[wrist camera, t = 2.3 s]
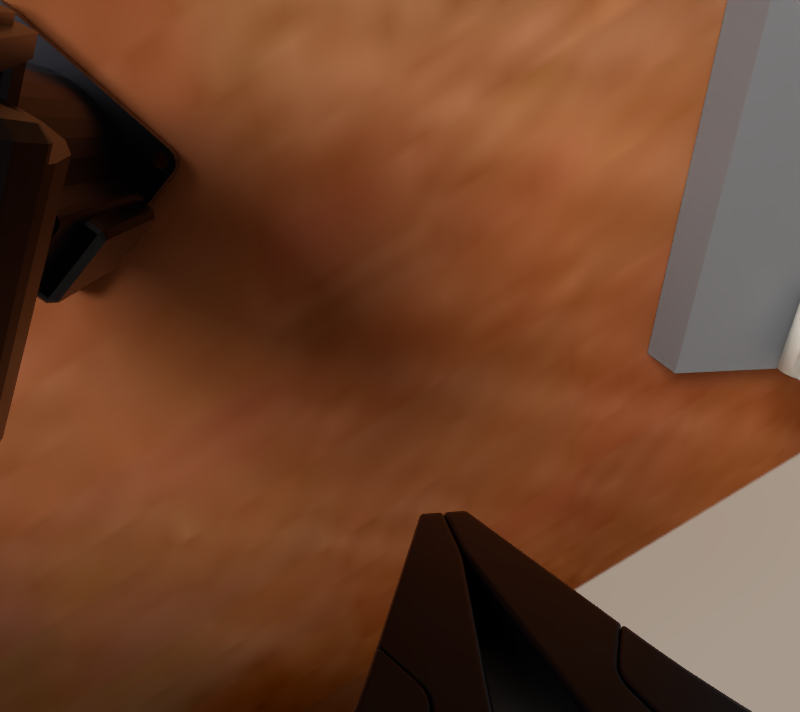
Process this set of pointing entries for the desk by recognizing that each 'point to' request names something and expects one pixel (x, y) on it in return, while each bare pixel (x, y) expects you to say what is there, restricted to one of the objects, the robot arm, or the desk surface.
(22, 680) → the desk surface
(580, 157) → the desk surface
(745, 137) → the switch base
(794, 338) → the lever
